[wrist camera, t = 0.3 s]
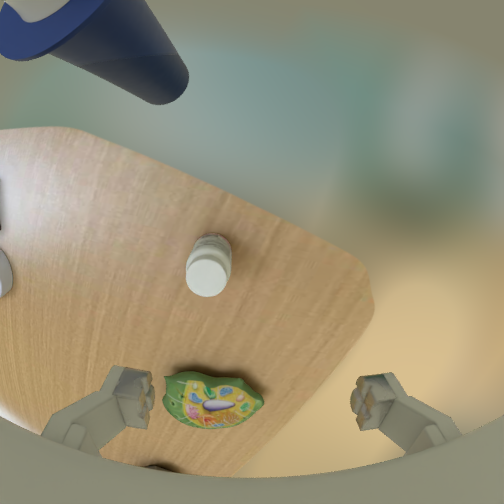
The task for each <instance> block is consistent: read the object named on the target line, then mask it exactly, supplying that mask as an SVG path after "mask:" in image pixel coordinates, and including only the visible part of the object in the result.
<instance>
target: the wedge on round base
mask: <svg viewBox="0 0 504 504" xmlns="http://www.w3.org/2000/svg"><path fill="white" fill-rule="evenodd" d="M12 284H13V275H12V270H11V266H10V263H9V261H8V259H7V257H6V255H5V254H4V253H3V251H2V250H1V249H0V298H1V297H2V296H4V295H5V294H6V293H7V292H9V291H10V290H11V288H12Z"/></svg>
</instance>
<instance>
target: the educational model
mask: <svg viewBox="0 0 504 504" xmlns="http://www.w3.org/2000/svg"><path fill="white" fill-rule="evenodd" d="M164 378H165V380H166V384H167V385H166V394H165V396H164V397H163V399H162V401H163V404H164V406H165V408H166V409H167V411H168V412H169V413H170V414H171V415H172V416H173V417H175V418H176V419H177V420H179V421H180V422H182V423H184V424H186V425H189V426H192V427H197V428H204V429H217V428H228V427H233V426H236V425H238V424H240V423H242V422H244V421H246V420H247V419H249V418H250V417H251V416H252V415H253V414H254V413H255V412H256V411H257V410H259V409H260V408H261V407H262V406H263V405H264V399H263V397H262V396H261V395H260V394H258V393H256V392H254V391H253V390H252V389H251V387H250V386H248V385H247V384H246V383H244V382H245V381H244V380H243V379H241V378H228V377H219V378H216V377H211V376H208V375H205V374H202V373H199V372H194V371H186V372H181V373H177V374H175V375H172V376H164Z"/></svg>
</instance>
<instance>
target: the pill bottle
mask: <svg viewBox="0 0 504 504" xmlns="http://www.w3.org/2000/svg"><path fill="white" fill-rule="evenodd" d="M231 262H232V249H231V246H230V243H229V242H228V241H227V239H226V238H224V237H223V236H221V235H219V234H216V233H208V234H205V235H203V236H201V237H200V238H199V239H198V240H197V241H196V243H195V244H194V247H193V249H192V251H191V254H190V256H189V258H188V260H187V263H186V281H187V284H188V286H189V288H190V289H191V290H192V291H193V292H194V293H196V294H197V295H199V296H203V297H211V296H215V295H217V294H219V293H220V292H221V291H222V290H223V289H224V287H225V285H226V282H227V281H228V279H229V277H230V274H231Z"/></svg>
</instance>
